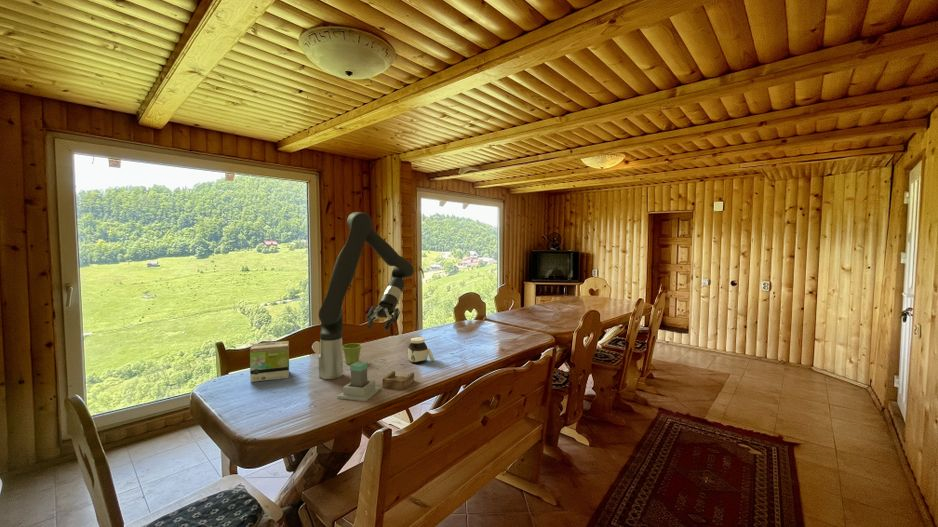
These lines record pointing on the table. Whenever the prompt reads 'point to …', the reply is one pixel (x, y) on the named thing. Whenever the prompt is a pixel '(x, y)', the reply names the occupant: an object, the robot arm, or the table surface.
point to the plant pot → (351, 352)
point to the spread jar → (418, 351)
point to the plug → (359, 374)
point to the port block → (359, 391)
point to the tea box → (269, 361)
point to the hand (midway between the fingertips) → (377, 328)
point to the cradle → (397, 381)
